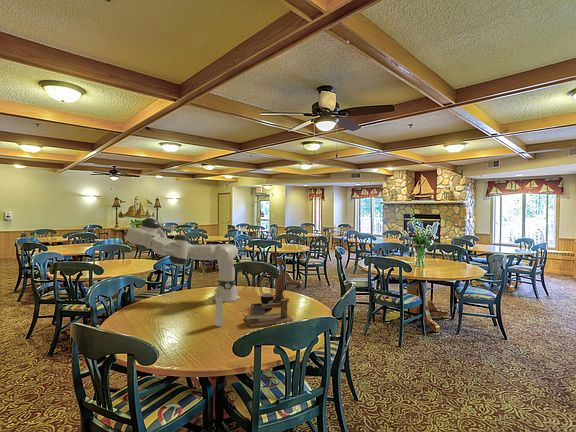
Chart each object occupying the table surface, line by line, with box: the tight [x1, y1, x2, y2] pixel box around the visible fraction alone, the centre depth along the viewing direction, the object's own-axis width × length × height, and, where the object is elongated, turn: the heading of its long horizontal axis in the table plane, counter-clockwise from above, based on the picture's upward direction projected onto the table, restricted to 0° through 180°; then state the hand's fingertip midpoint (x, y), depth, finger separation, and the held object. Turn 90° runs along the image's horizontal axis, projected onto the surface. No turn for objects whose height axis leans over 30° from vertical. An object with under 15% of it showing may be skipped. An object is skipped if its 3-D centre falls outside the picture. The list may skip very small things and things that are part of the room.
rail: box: [214, 296, 224, 328], centre depth 184 cm, size 4×4×16 cm
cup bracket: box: [244, 299, 294, 329], centre depth 193 cm, size 16×26×12 cm, turn 107°
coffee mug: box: [260, 292, 277, 312], centre depth 214 cm, size 12×9×10 cm
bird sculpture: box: [273, 257, 290, 303], centre depth 231 cm, size 11×12×32 cm
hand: (177, 247), depth 186 cm, fingers open, 8 cm apart
